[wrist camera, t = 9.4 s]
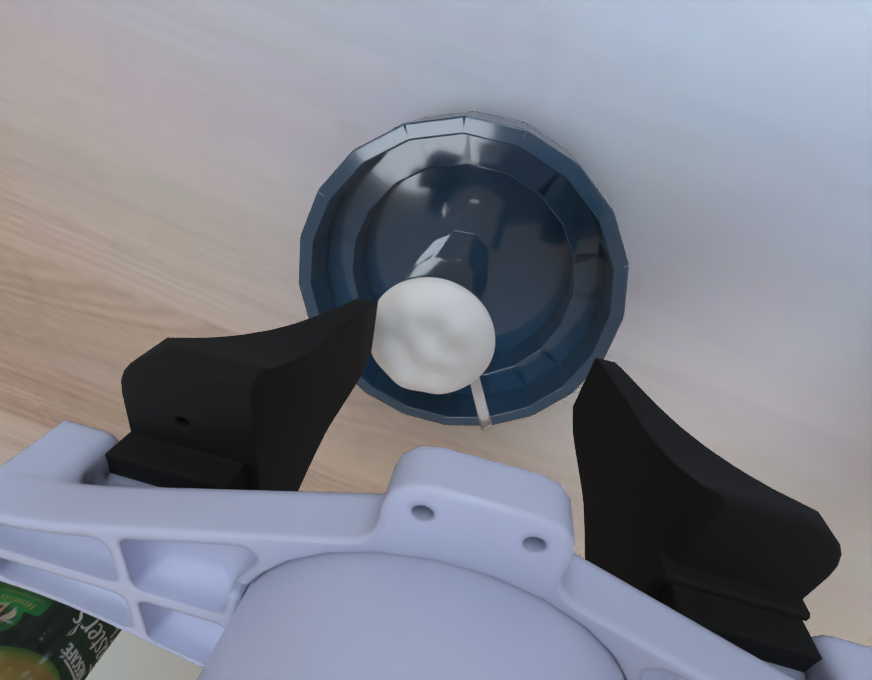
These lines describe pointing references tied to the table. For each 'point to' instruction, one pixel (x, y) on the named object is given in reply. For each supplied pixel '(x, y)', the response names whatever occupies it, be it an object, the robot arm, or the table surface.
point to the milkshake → (440, 321)
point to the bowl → (498, 232)
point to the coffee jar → (48, 637)
